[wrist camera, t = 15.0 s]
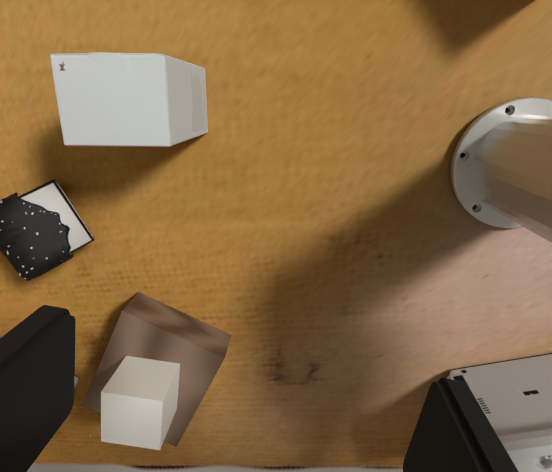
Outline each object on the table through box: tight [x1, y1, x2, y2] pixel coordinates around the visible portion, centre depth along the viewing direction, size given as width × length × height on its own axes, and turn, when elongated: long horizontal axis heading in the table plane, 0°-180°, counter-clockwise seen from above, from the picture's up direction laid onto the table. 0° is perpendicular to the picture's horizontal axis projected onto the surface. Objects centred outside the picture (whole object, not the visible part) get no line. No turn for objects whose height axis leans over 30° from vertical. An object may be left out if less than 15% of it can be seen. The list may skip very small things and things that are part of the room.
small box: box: [50, 52, 208, 147], centre depth 34 cm, size 8×6×13 cm
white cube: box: [101, 356, 180, 450], centre depth 43 cm, size 6×6×6 cm
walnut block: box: [82, 292, 231, 446], centre depth 48 cm, size 12×14×5 cm
